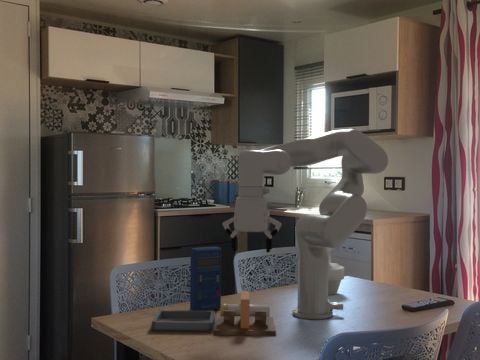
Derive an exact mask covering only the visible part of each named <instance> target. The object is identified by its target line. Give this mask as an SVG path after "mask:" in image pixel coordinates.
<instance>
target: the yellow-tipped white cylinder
mask: <svg viewBox="0 0 480 360" xmlns="http://www.w3.org/2000/svg"><path fill="white" fill-rule="evenodd" d="M270 307H271V306H270V304H252V303H251V304H250V308H249V317H256V310H266V317H270V314H271V313H270V312H271V311H270V309H271V308H270ZM219 310H220V311H219V313H220V314H219V315H220V316H219V317H224V310H234V317H241V303H239V304H237V303H221V307H220V309H219Z"/></svg>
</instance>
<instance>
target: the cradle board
mask: <svg viewBox="0 0 480 360" xmlns="http://www.w3.org/2000/svg"><path fill="white" fill-rule="evenodd" d="M213 335H214V336H215V335H216V336H218V335H219V336H277V330H276V325H275V320H274V317H272V316H269V317H266V310H256V317H249V328H241V316H234V310H224V316H215V321H214V327H213Z"/></svg>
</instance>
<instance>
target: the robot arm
mask: <svg viewBox="0 0 480 360" xmlns="http://www.w3.org/2000/svg"><path fill="white" fill-rule="evenodd" d="M338 157H341V162H340V163H341V178H340V181H339V182H338V183H337V184H336V186H334V187H333V189H332V190H331V191H330V192H328V193H327V195H326V196H325V197H323V199H322V200H321V202H320V203H319V207H318V211H319V213H318V214H315V213H307V214H304V215H302V216H301V217H299V219H298V220H297V221H296V224H295V228H294V231H295V232H294V233H295V240H296V244H297V307H296V306H295V307H294V308H293V309H292V316H295V317H297V318H301V319H305V320H325V319H330V318H332V317H333V316H334V315H333V314H334V310H337V311H344V303H338V302H331V301H330V300H329V295H328V266H329V259H328V253H327V250H326V247H329V248H335V249H336V248H338V247H340V246H341V245H343V244H344V243H346V241H347V240H348V239H349V238H350V237H351V235H352V234H353V233H354V232H355V231H356V230H357V229H358V228H359V226H360V225H361V224H362V223H363V222H364V220H365V218H366V215H367V212H368V206H367V201H366V200H365V198H364V197H363V194H364V191H365V185H364V179H363V175H364V174H365V175H366V174H370V175H371V174H372V175H374V174H380V173H382V172H385V170H386V169H387V167H388V165H389V156H388V154H387V152H386V150H385V149H384V148H383V147H382V146H380V145H379V144H378V143H377V142H375V141H374V140H373V139H372V138H370V137H369V136H368V135H366V133H363V132H362V131H360V130H358V129H355V128H346V129H336V130H329V131H327V132H322V133H320V134H316V135H312V136H309V137H305V138H300V139H295V140H293V141H289V142H286V143H282V144H276V145H273V146H269V147H266V148H265V147H264V148H262V149H258V150H257V149H248V150H247V149H245V150H241V151H239V153H238V196H237V197H236V199H235V204H234V205H235V206H234V215H233V217H231V218H229V219H227V220H225V221H222V226H223V229H224V230H225V232H226V233H227V234H228V236H229V237H230V238H231V249H233V252H234V253H235V252H237V251H239V243H238V242H239V237H238V234H239V233H264V235H266V240H265V242H266V243H265V244H266V247H265V252H266V253H270V252H271V250H273V237H275V235H276V234H277V233H278V232H279V230H280V229H281V227H282V222H280V221H278V220H276V219H275V218H272V217H270V207H269V206H270V203H269V199H268V197H267V196H266V195H267V194H270V192H271V191H270V188H267V187H266V186H265V176H280V175H284V174H286V173H287V172H289V170H290V169H291V167H305V166H312V165H315V164H318V163H322V162H325V161H328V160H331V159H335V158H338ZM232 223H233V228H234V229H233V230H232V229H231V228H230V226H229V225H230V224H232ZM271 224H272V225H274V226H275V227H274V228H273V230H272V231H271V230H270V225H271Z"/></svg>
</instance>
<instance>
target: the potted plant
mask: <svg viewBox="0 0 480 360" xmlns="http://www.w3.org/2000/svg"><path fill="white" fill-rule="evenodd" d="M335 249H336V248H329V247H326V250H327V253H328V259H329V266H328V296H331V295H332V296H333V295H336V294H337V293H338V291H339V288H340V285H341V283H342V281H343V280H344V279H345V266H342V265H339V263H334V262H331V261H332V253H331V252H333V251H334V250H335Z"/></svg>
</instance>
